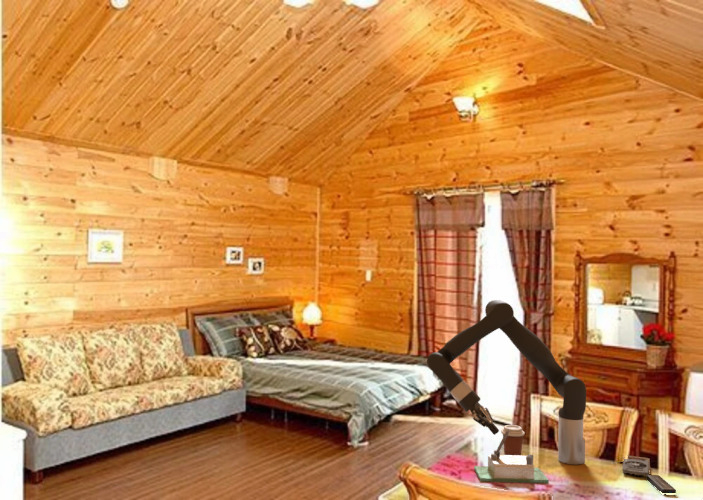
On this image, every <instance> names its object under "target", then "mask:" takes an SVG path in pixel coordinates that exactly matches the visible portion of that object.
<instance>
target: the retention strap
mask: <svg viewBox="0 0 703 500" xmlns="http://www.w3.org/2000/svg"><path fill="white" fill-rule="evenodd" d="M509 432H510V430H509V429H508V430H507V431H506V433H505V435H504V437H503V436H502V439H501V441H500V442H499V445H498V447H497V449H496V452H495V454H496V455H497V456H498V453H499V451H500V452H501V449H502V447H504V442H505V440H506V438H507V436H508V434H509Z"/></svg>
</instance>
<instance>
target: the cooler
mask: <svg viewBox="0 0 703 500" xmlns="http://www.w3.org/2000/svg"><path fill="white" fill-rule="evenodd" d="M496 451H497V449H496V450H494V451H493V453H491V454H488V456H487V466H485V465H484V466H483V465H482V466H480V465H478V466H477V465H473V466H474V467H473V470H474V471H475V474H476V475H477V478H478V479H480V480H479V482H480V481H481V483H484V481H485V483H515V484H517V483H518V484H519V483H520V484H521V483H522V484H549V483H550V482H549V478H548V477H547V476H546V475H545V474H544V473H543V471H542V470H541V469H540V468H539V467H534V455H533V454H527V455H522V454H521V455H504V454H501V450H500V451H499V453H498V456H497V455H496V454H495V452H496Z"/></svg>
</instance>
